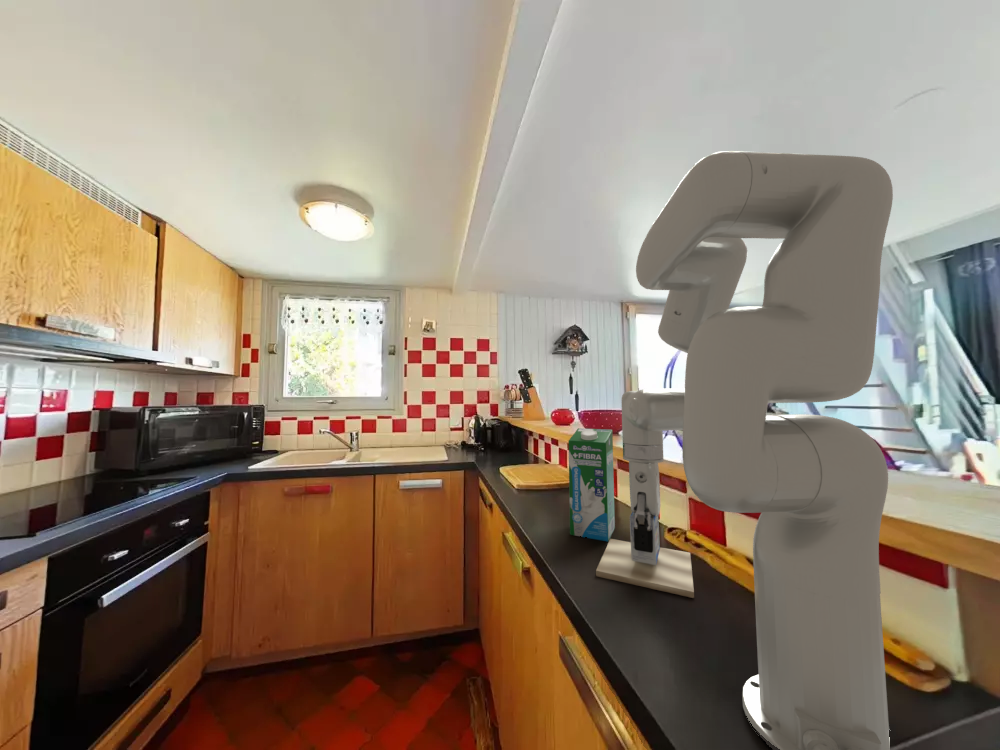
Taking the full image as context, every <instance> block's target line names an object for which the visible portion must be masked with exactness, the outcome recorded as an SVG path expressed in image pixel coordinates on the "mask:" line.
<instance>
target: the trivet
mask: <svg viewBox="0 0 1000 750" xmlns="http://www.w3.org/2000/svg"><path fill="white" fill-rule="evenodd" d="M691 557H692V556H691V552H687V551H682V550H677V549H676V550H675V549H671V548H666V547H660V550H659V555H658V559H657V564H656V566H654V565H650V564H645V563H640V562H636V561H632V558H631V541H625V540H619V539H615V538H610V539H609V541H608V543H607V546H606V548H605V550H604V552H603V554H602V556H601V558H600V561H599V563H598V565H597V568H596V569H595V575H596V577H599V578H603V579H607V580H613V581H617V582H621V583H625V584H630V585H633V586H639V587H643V588H648V589H652V590H657V591H661V592H665V593H669V594H675V595H679V596H683V597H688V598H692V599H695V589H694V578H693V570H692V569H693V568H692V559H691Z"/></svg>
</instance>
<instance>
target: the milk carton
mask: <svg viewBox="0 0 1000 750" xmlns="http://www.w3.org/2000/svg"><path fill="white" fill-rule="evenodd" d="M613 432H614V431H613V429H606V428H605V429H602V428H577V429H576V430H575V432H574V433H572V435H571V437H570V438H569V439H568V486H569V487H568V489H569V491H568V492H569V493H568V494H569V497H568V499H569V536H570V535H571V536H575V537H580V536H581V538H585V537H587V538H586V539H590V540H591V539H592V540H596V541H603V542H608V543H609V541H610V539H611V537H612V534H613V533H614V531H615V529H616V526H615V525H616V524H615V523H616V520H615V483H614V476H615V475H614V444H613V440H614V439H613V437H614V436H613Z"/></svg>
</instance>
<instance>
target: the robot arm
mask: <svg viewBox="0 0 1000 750" xmlns="http://www.w3.org/2000/svg"><path fill="white" fill-rule="evenodd" d="M892 183H893V182H892V180H891V177H890V175H889V174H888V172H887V169H885V168H884V166H882V165H881V164H880V163H878V162H877V161H875V160H872V159H870V158H866V157H861V156H854V155H835V154H834V155H833V154H832V155H831V154H829V155H828V154H805V153H788V152H786V153H785V152H779V153H777V152H764V151H763V152H762V151H761V152H760V151H745V150H744V151H743V150H729V151H728V150H727V151H724V150H723V151H717V152H713V153H711V154H709V155H707V156H705V157H703V158H701V159H700V160H698V161H697V162H696V163H695V164H693V166H692V167H691V168H690V169H689V170H688V171H687V173H686V174H685V175H684V177H682V179H681V181H680V182H679V184H678V185H677V187H676V188H675V190H674V192H673V193H672V194H671V196H670V197H669V198H668V200H667V201H666V203H665V205H664V207H663V208H662V209H661V211H660V212H659V214H658V216H657V217H656V219H655V220H654V222H653V223H652V225H651V227H650V229H649V230H648V232H647V234H646V235H645V237H644V239H643V241H642V243H641V247H640V249H639V252H638V256H637V260H636V267H635V274H636V276H635V277H636V279H637V281H638V284H639V285H640V286H641V287H642V288H644V289H646V290H652V291H668V295H667V298H666V302H665V306H664V309H663V312H662V315H661V317H660V318H661V319H660V323H659V326H658V330H657V333H658V336H659V338H660V339H661V340H662V341H663V342H664V343H665V344H667V345H669V346H670V347H672V348H674V349H676V350H679V351H681V352H684V353H685V354H687V356H686V360H685V361H686V362H685V363H686V364H685V371H684V374H685V377H684V388H646V389H645V388H644V389H640V390H628V391H626V392H624V393H623V394H622V396H621V431H622V432H621V433H622V434H621V435H622V437H621V438H622V459H623V460H624V461H628V469H629V470H628V472H629V473H628V475H629V477H628V479H629V500H630V512H631V513H632V512H633V513H634V514H635V525H634V548H635V550H638V551H644V552H649V553H652V552H653V533H652V530H651V514H652V515H655V517H657V516H658V517H659V515H660V510H661V487H660V486H661V485H660V471H659V463H662V462H663V463H664V460H665V459H664V437H663V436H664V435H663V434H664V432H666V431H682V450H681V451H682V462H683V463H682V464H683V469H684V470H683V471H684V474H685V478H686V481H687V483H688V485H689V487H690V489H691V491H692V493H694V495H695V496H696V498H697V499H699V501H701V502H702V503H703V504H705V505H706V506H708V507H709V508H712V509H715V510H717V511H721V512H727V513H734V514H735V513H736V514H737V513H739V514H741V513H742V514H743V513H744V514H745V513H748V514H749V513H751V514H756V513H760V515H759V517H758V520H757V522H756V525H755V530H754V533H753V537H752V554H753V557H752V561H753V582H754V602H755V603H754V604H755V605H754V606H755V627H756V647H757V648H756V649H757V669H758V670H757V671H758V674H756V675H753V676H751V677H750V678H748V679H747V680H746V681H745V682H744V685H743V686H742V692H741V693H742V694H741V696H742V709H743V711H744V715H745V716H747V717H746V719H747V718H748V719H747V721H748V722H749V721H750V722H749V724H750V723H751V724H752V726H753V727H754V728H755V729H756V730H757V731H758V732H759V733H760V735H762V736H763V737H764V738H765V739H766V740H767V741H769V742H770V743H771V744H772V745H774V746H775V747H777V748H778V749H780V750H890V737H889V730H890V726H889V725H890V724H889V711H888V710H889V709H888V697H887V696H888V693H887V679H886V665H885V650H884V649H885V648H884V637H883V620H882V619H883V618H882V617H883V616H882V605H881V604H882V603H881V602H882V601H881V579H880V578H881V577H880V575H881V574H880V554H879V553H880V550H879V548H880V547H879V544H880V532H881V531H880V530H881V523H882V517H883V512H884V508H885V503H886V499H887V493H888V486H889V471H888V466H887V465H888V464H887V461H886V458H885V455H884V453H883V452H882V449H881V447H880V446H879V445H878V444H877V442H876V441H875V440H874V439H873V437H871V436H870V435H869V433H867V432H866V431H864V430H863V429H861V428H860V427H859V426H857V425H854V424H853V423H851V422H848V421H846V420H842V419H841V418H837V417H833V416H832V417H831V416H826V415H823V414H822V415H821V414H809V413H807V414H805V413H801V414H800V413H799V414H792V413H791V414H767V410H768V407H769V406H768V405H769V404H789V403H790V404H791V403H792V404H797V403H798V404H799V403H800V404H802V403H824V402H825V403H827V402H833V401H834V402H835V401H839V400H843V399H846V398H847V399H848V398H850V397H852V396H854V395H856V394H857V393H859V392H860V391H861V390H862V389H863V388H864V387H865V386H866V384H867V383H868V382H869V379H870V376H871V375H872V371H873V367H874V365H873V364H874V358H875V349H876V348H875V347H876V335H877V327H878V326H877V325H878V324H877V323H878V315H879V314H878V313H879V303H880V300H879V299H880V288H881V266H882V265H881V264H882V256H883V248H884V243H885V237H886V233H887V228H888V225H889V220H890V217H891V212H892V208H893V207H892V206H893V199H894V198H893V197H894V195H893V184H892ZM744 239H766V240H767V239H768V240H769V239H773V240H774V239H775V240H776V239H779V240H780V239H783V240H782V241H781V243H780V244H779V245H778V247H777V248H776V250H775V251H774V253H773V255H772V256H771V258H770V260H769V261H768V264H767V267H766V270H765V273H764V283H763V285H764V286H763V288H764V289H763V299H762V306H736V307H730V305H731V303H732V301H733V300H732V299H733V297H734V296H735V292H736V290H737V287H738V284H739V281H740V279H741V276H742V274H743V271H744V269H745V265H746V264H747V258H748V247H747V245H746V242H745V241H744ZM663 431H664V432H663ZM645 510H647V511H648V512H645ZM645 517H647V518H645ZM751 724H750V725H751ZM752 726H751V727H752Z"/></svg>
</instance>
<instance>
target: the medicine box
mask: <svg viewBox="0 0 1000 750" xmlns="http://www.w3.org/2000/svg"><path fill="white" fill-rule="evenodd" d="M645 512H648V511H647V510H645ZM645 518H647V517H645ZM634 525H635V514H634V513H633V512H632V511H631V513H630V515H629V532H630V533H629V535H630V537H629V538H630V542H631V558H632V561H636V562H640V563H645V564H650V565H654V566H656V564H657V559H658V555H659V550H660V527H659V526H660V524H659V515H658V516H657V517H655V515H652V514H651V530H652V533H653V552H652V553H649V552H644V551H638V550H635V548H634Z"/></svg>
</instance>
